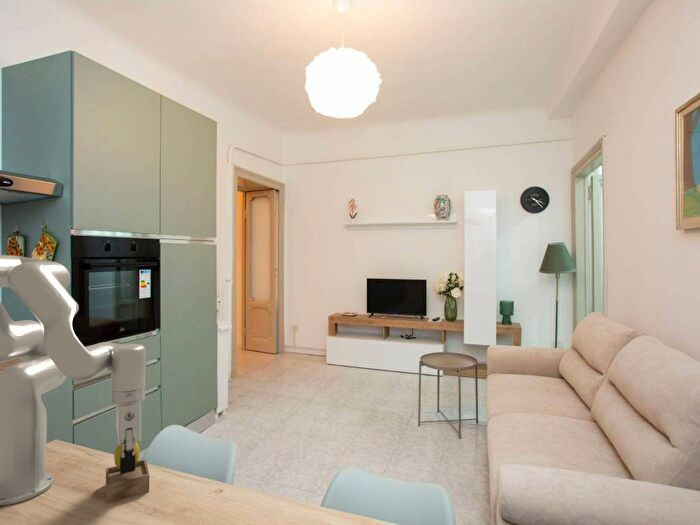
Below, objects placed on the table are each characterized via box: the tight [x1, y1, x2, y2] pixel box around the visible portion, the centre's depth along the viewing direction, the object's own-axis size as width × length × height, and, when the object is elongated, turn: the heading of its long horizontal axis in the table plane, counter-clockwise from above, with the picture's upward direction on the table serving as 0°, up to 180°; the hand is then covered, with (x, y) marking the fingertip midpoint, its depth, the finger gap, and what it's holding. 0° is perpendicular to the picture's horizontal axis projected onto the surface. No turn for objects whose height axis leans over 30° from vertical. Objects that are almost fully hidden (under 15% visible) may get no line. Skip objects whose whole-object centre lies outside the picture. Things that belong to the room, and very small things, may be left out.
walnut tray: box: [105, 458, 150, 504], centre depth 97 cm, size 9×9×4 cm
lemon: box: [113, 440, 141, 469], centre depth 97 cm, size 6×6×8 cm
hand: (126, 465), depth 97 cm, fingers closed on lemon, 5 cm apart
